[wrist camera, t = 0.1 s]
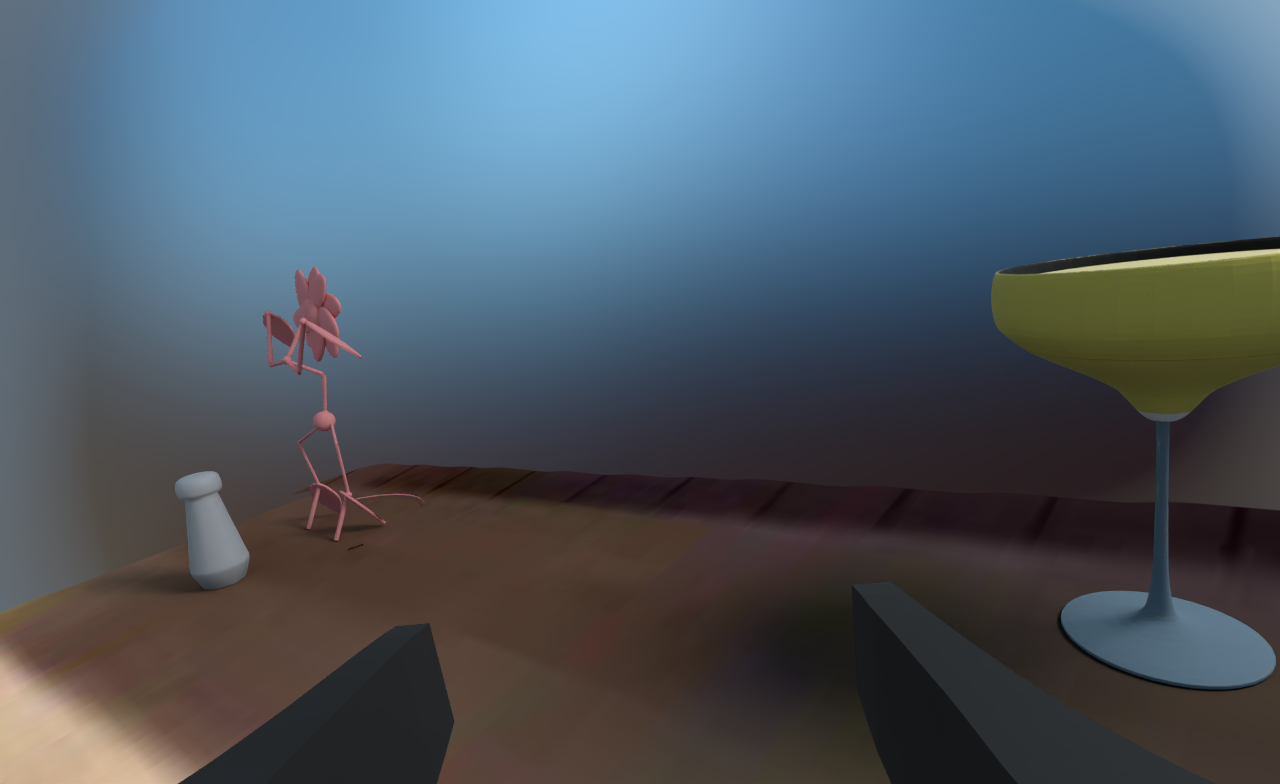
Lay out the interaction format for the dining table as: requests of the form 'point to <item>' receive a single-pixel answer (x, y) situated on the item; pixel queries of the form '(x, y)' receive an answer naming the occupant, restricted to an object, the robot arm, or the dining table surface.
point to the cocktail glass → (1156, 415)
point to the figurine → (321, 332)
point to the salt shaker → (211, 533)
